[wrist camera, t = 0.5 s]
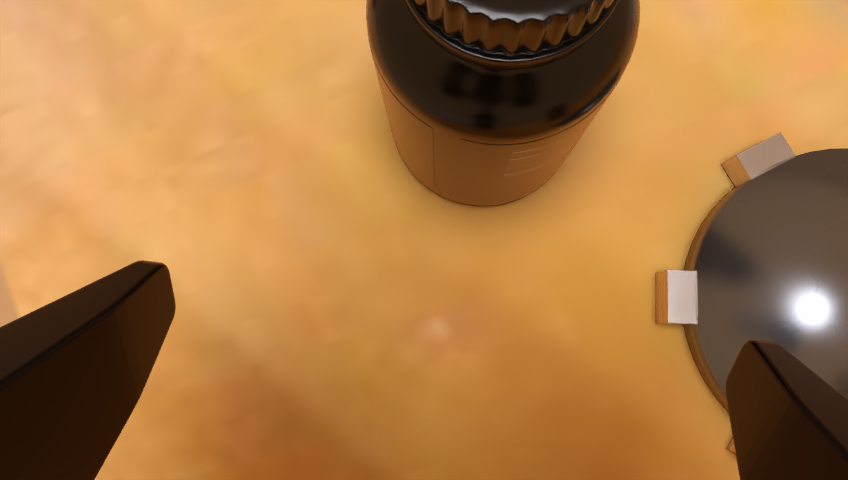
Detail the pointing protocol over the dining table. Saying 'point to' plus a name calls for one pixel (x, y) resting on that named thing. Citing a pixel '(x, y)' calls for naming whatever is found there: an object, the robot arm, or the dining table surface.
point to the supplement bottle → (495, 86)
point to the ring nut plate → (768, 266)
